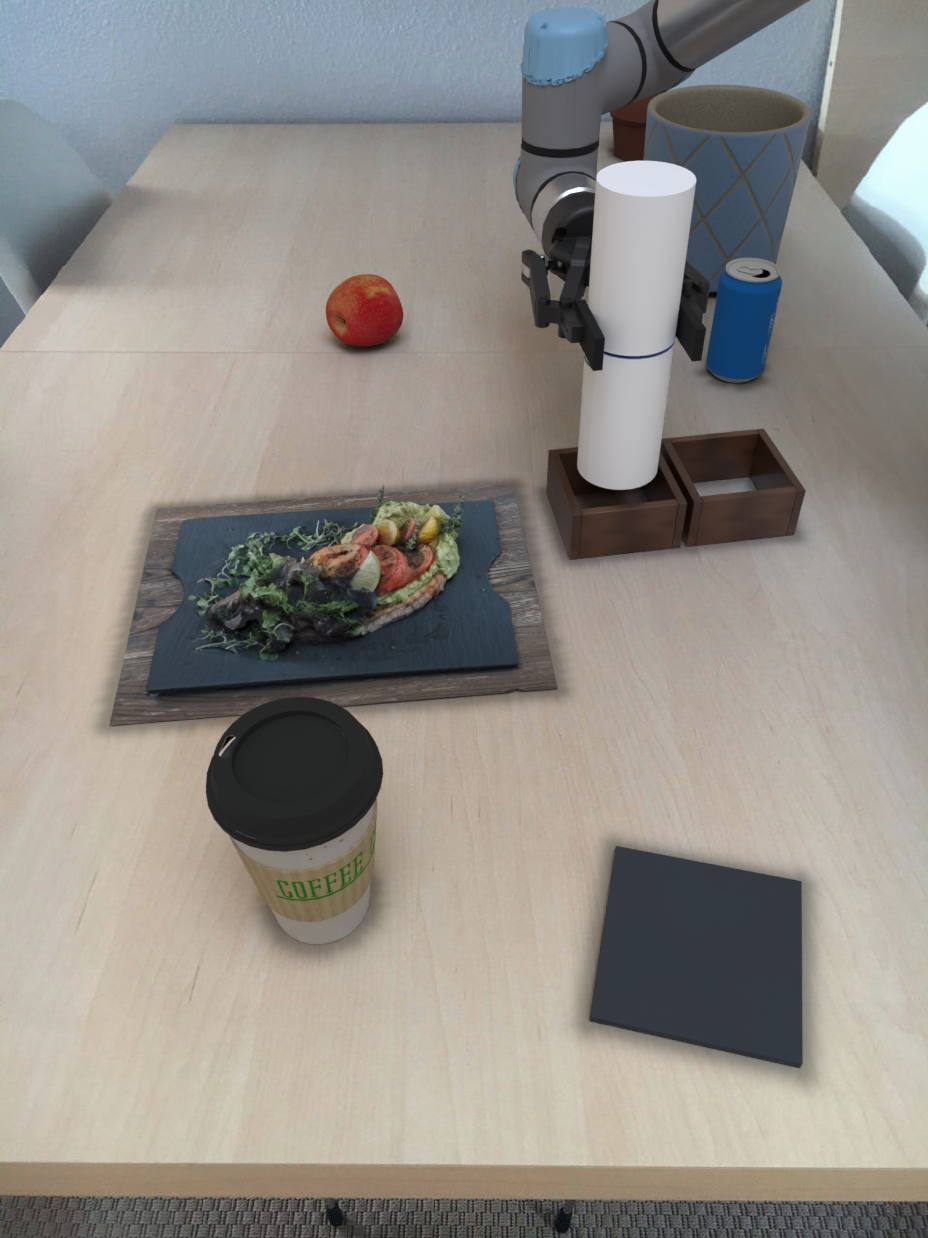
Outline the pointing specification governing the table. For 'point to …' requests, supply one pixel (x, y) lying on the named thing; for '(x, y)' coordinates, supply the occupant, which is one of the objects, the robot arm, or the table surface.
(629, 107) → the muffin
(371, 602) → the plated dish
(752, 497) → the stand
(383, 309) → the apple
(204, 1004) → the table surface
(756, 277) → the beverage can
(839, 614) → the table surface
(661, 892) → the mat
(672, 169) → the cylindrical container
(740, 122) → the planter
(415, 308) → the table surface
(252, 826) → the coffee cup
